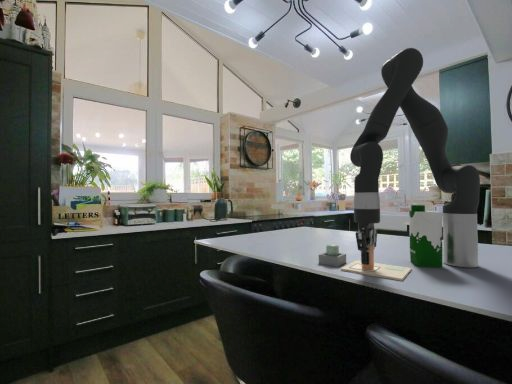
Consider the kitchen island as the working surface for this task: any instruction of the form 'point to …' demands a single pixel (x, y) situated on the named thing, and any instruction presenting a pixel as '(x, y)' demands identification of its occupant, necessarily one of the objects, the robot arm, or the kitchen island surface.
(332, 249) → the button
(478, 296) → the kitchen island surface
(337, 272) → the kitchen island surface
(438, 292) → the kitchen island surface
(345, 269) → the sheet
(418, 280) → the kitchen island surface
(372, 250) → the orange jar
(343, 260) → the button base
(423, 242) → the milk carton
